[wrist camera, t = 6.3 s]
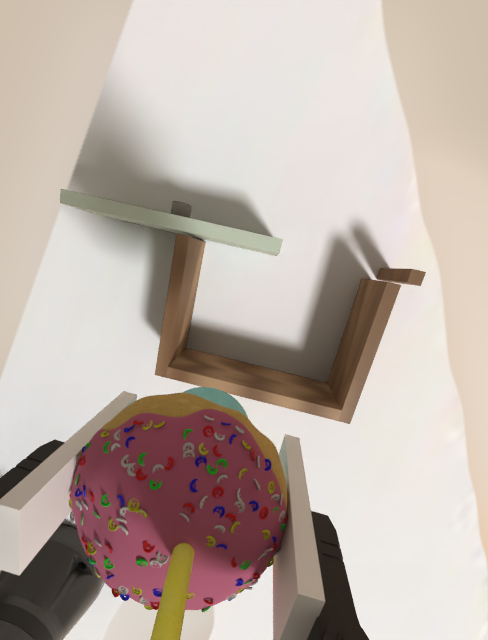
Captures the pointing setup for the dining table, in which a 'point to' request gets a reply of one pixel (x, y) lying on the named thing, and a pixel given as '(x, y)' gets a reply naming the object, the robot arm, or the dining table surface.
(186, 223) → the grey flat panel
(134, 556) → the cupcake
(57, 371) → the dining table surface
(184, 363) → the holder
